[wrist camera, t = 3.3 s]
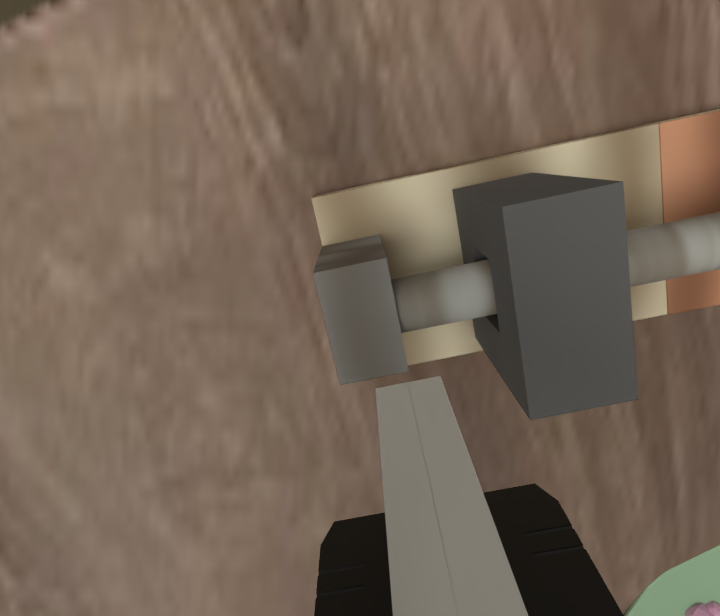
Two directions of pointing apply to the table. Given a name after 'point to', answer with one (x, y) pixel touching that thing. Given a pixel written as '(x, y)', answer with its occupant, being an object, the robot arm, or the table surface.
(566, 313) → the collar
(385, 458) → the robot arm
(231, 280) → the table surface
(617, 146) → the grey sliding block rail
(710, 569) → the plant
